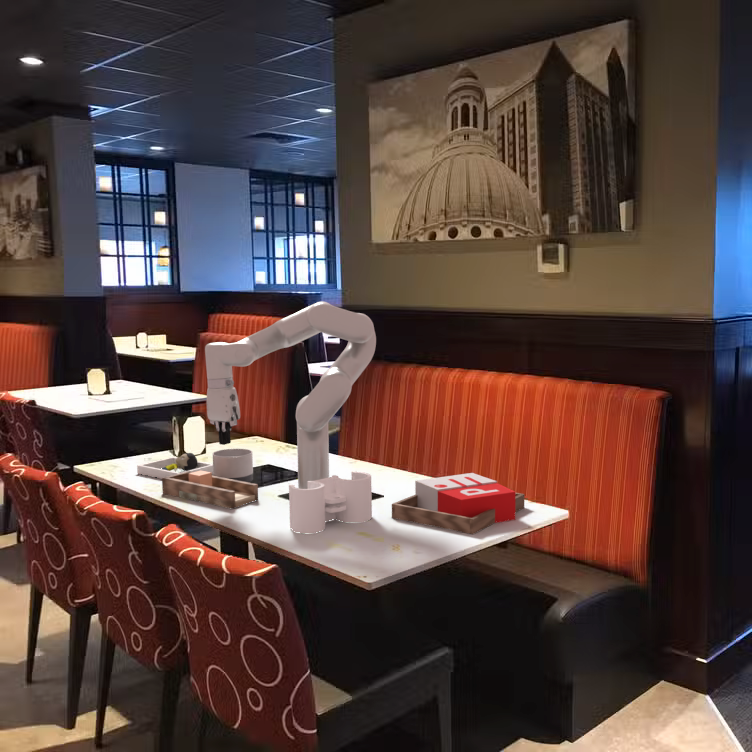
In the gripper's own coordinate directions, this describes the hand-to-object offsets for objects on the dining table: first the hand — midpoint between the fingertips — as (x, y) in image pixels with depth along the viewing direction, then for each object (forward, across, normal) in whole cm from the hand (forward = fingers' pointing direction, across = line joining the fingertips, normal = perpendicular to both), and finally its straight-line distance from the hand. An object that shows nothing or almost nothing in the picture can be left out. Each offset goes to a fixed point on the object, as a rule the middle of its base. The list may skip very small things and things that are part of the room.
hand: (225, 443), depth 249 cm
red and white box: (+21, -66, -28) cm, 75 cm away
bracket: (+19, -41, 0) cm, 45 cm away
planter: (+18, +13, -14) cm, 26 cm away
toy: (+17, +40, -14) cm, 46 cm away
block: (+15, +12, +1) cm, 19 cm away
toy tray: (+17, +40, -14) cm, 46 cm away
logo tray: (+20, -65, -27) cm, 73 cm away
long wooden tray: (+17, +8, +1) cm, 19 cm away
